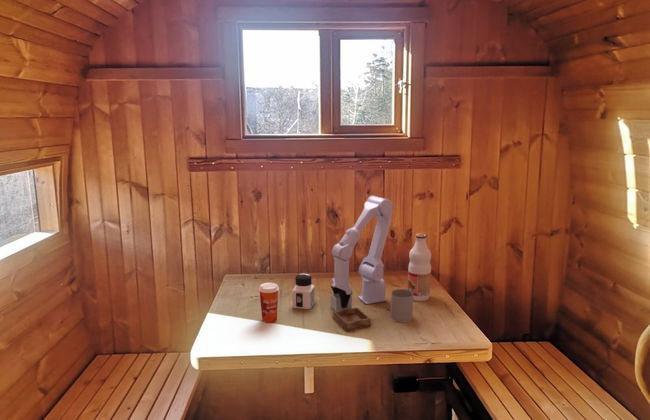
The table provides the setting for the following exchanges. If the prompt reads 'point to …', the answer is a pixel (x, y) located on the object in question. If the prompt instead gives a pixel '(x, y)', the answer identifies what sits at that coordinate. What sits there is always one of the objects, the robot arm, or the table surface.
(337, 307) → the gray crate
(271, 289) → the paper cup
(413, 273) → the fruit juice
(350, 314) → the walnut crate
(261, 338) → the table surface
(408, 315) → the cup
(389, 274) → the table surface
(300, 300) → the container
